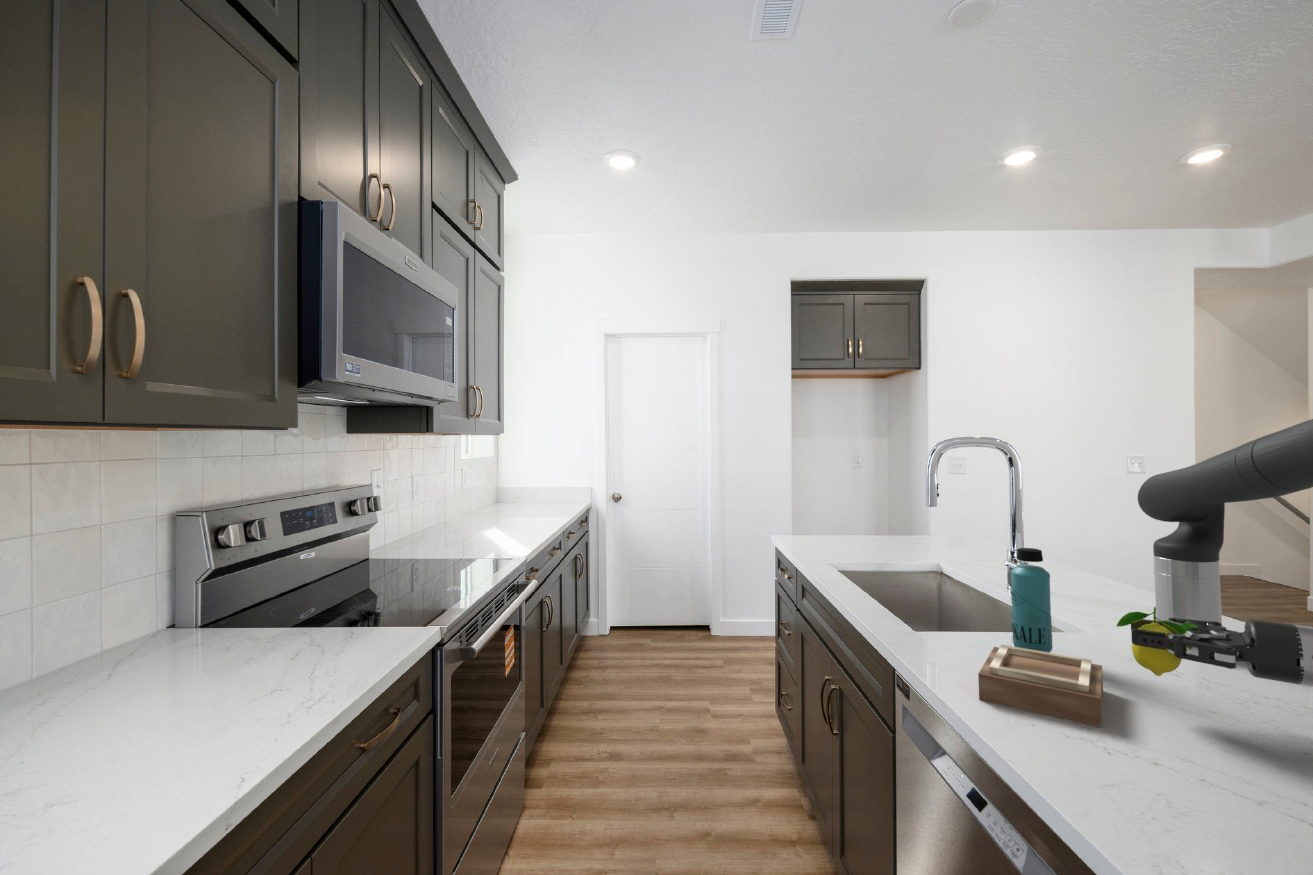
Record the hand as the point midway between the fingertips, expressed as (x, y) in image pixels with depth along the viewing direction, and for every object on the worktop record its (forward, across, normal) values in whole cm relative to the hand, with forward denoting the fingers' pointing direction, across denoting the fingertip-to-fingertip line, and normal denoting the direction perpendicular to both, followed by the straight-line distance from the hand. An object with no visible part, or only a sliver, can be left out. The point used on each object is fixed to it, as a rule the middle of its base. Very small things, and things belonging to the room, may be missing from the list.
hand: (1131, 630), depth 85 cm
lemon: (-3, 0, +6) cm, 7 cm away
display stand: (+11, +2, +12) cm, 16 cm away
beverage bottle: (+14, -16, +12) cm, 25 cm away
